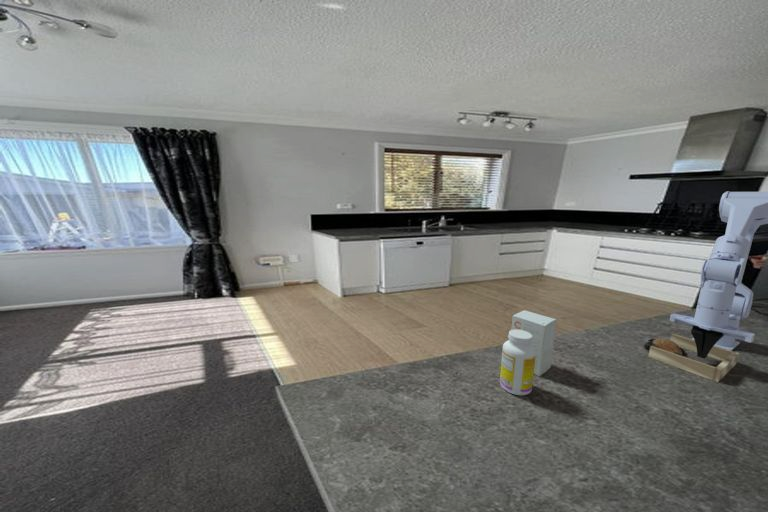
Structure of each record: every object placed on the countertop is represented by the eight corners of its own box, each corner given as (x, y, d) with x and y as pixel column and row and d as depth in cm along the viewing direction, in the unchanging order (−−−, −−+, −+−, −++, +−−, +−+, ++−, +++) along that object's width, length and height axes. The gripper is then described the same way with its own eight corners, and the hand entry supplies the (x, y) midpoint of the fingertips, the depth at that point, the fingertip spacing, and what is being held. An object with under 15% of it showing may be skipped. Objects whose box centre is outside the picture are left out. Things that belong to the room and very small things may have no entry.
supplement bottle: (531, 383, 69) (537, 330, 67) (532, 400, 63) (538, 343, 61) (500, 375, 72) (505, 325, 69) (498, 391, 66) (503, 337, 63)
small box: (551, 368, 75) (557, 319, 73) (539, 377, 71) (545, 325, 69) (519, 354, 81) (524, 309, 79) (507, 362, 77) (512, 315, 75)
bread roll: (645, 341, 91) (647, 330, 91) (684, 351, 85) (686, 339, 85) (641, 354, 84) (644, 341, 83) (684, 366, 78) (687, 352, 77)
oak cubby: (670, 343, 89) (672, 333, 89) (736, 363, 78) (739, 353, 78) (648, 356, 81) (650, 346, 81) (718, 382, 70) (720, 370, 70)
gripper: (669, 300, 79) (659, 348, 82) (754, 320, 67) (740, 375, 70) (679, 296, 83) (669, 342, 86) (762, 314, 71) (747, 366, 73)
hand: (702, 356), depth 78 cm, fingers closed
